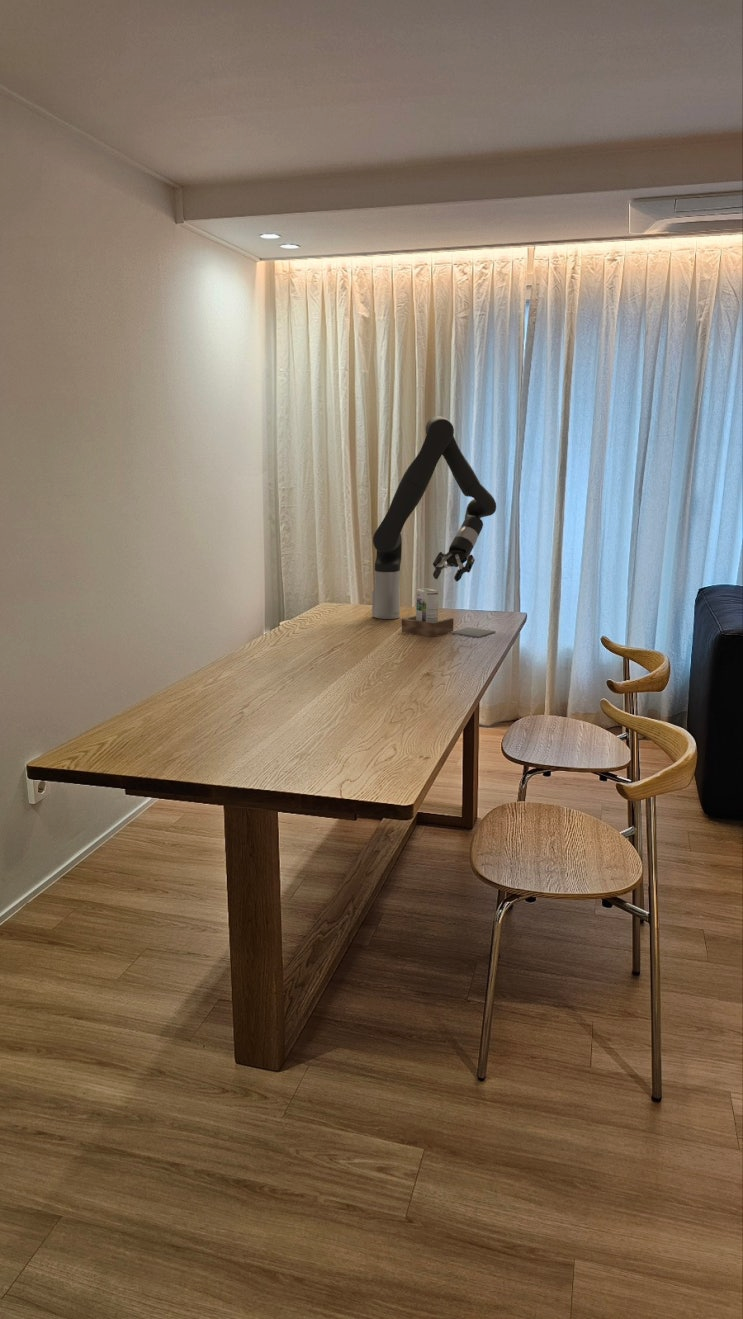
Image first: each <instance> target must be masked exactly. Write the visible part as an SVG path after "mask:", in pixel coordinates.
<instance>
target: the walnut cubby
mask: <svg viewBox="0 0 743 1319" xmlns="http://www.w3.org/2000/svg"><path fill="white" fill-rule="evenodd" d="M451 631H454V618H453V617H450V618H446V619H442V620H439V621H438V622H435V623H430V622H423V621H416V615H413V616H408V617H405V618H402V619H401V633H404V632H405V633H404V634H410V633H411V635H417V636H423V635H424V636H425V637H429V636H431V638H435V636H436V637H438V635H439V636H442V635H446V634H448V632H449V633H451ZM445 633H446V634H445ZM424 636H423V637H424Z"/></svg>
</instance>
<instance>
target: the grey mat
mask: <svg viewBox="0 0 743 1319" xmlns="http://www.w3.org/2000/svg"><path fill="white" fill-rule="evenodd" d="M496 632H497V631H496V630H490V629H485V628H484V629H482V628H477V627H476V628H475V627H469V626H468V627H464V628H461V629H457V630H453V632H450V634H451V633H452V634H451V635H455V634H459V635H458V636H462V635H465V636H464V637H469V636H471V637H470V638H475V637H477V639H480V638H483V637H486V635H487V636H489V634H490V635H492V634H495V633H496ZM479 637H480V638H479Z"/></svg>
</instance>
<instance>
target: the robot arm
mask: <svg viewBox="0 0 743 1319" xmlns="http://www.w3.org/2000/svg"><path fill="white" fill-rule="evenodd" d="M454 433H455V428H454V425H453V423H452V422H451V421H450V420H449V419H448V418H446V417H444V416H442V415H441V416H440V415H436V416H433V417H431V418H430V419H429V420H428V421H427V423H426V425H425V434H426V436H425V438H424V441H423V443H422V446H421V449H420V450H419V452H418V454H417V455H416V457H415V458H414V460H413V461H412V462H411V463H410V465H409V466H408V467H407V469H406V470H405V472H404V474H403V475H402V478H401V479H400V481H399V484H398V486H397V488H396V490H395V493H394V496H393V497H392V500H391V503H390V505H389V509H388V510H387V511H386V514H385V516H384V517H383V520H381V523H380V525H379V526H378V527H377V529H376V530H375V532H374V533H373V538H372V544H373V546H374V548H375V550H376V558H375V562H374V590H372V595H371V596H372V597H371V601H372V602H371V606H372V607H371V611H372V612H371V613H372V614H371V616H372V617H374V618H376V619H380V620H395V619H399V618H400V617H401V616H400V606H401V604H400V603H401V602H400V601H401V599H400V598H401V596H400V595H401V592H400V591H401V590H400V588H401V580H400V579H401V564H402V546H403V543H402V542H403V541H402V540H403V538H402V534H401V532H402V531H403V528H404V526H405V524H406V521H407V520H408V519H409V517H410V516H411V514H412V513H413V512H414V510H415V509H416V507H417V506H418V505H419V503H420V501H421V499H422V498H423V496H424V494H425V492H426V490H427V488H428V486H429V483H430V481H431V479H432V477H433V474H434V472H435V469H436V468H437V465H438V462H439V461H440V460H441V459H440V458H442V456H443V459H444V460H445V462H446V464H447V466H448V468H449V470H450V473H452V475H453V478H454V480H455V482H456V483H457V486H458V487H459V489H460V491H461V492H462V494H463V495H464V496H465V497H469V498H473V499H472V500H470V501H469V503H468V504H467V506H466V510H465V515H464V520H463V523H462V524H461V526H460V527H459V529H458V531H457V532H456V534H455V536H454V538H453V540H452V541H451V544H450V546H449V548H448V552H447V553H443V552H442V551H439V553H438V554H437V555H436V558H435V559H434V561H433V563H432V566H433V567H434V571H433V573H432V577H433V578H434V580H438V579H439V577H440V574H441V573H442V571H443V570H445V569H448V568H449V567H451V568H452V567H455V568H458V569H457V571H456V573H455V575H454V577H453V579H454V581H455V582H459V581H460V580H461V579H462V577H463V575H464V574H465V573H470V572H471V571H472V568H473V566H474V563H475V560H476V559H475V557H474V555H473V554H471V553H472V552H473V549H474V547H475V545H476V543H477V540H478V538H479V535H480V533H481V532H482V529H483V526H484V522H483V520H482V518H485V517H489V516H492V515H493V514H495V513H496V510H497V502H496V500H495V497H494V496H493V495H492V494H491V492H489V491H488V489H486V488H485V487H484V486H483V485H482V484H481V482H480V480H479V478H478V477H477V474H476V473H475V471H474V469H473V467H472V466H471V465H470V463H469V462H468V460H467V459H466V457H465V455H464V454H463V452H462V451H461V449H460V447H459V445H458V443H457V441H456V438H455V436H454V435H455V434H454ZM465 562H466V563H465ZM464 563H465V565H464Z"/></svg>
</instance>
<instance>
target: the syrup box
mask: <svg viewBox="0 0 743 1319" xmlns="http://www.w3.org/2000/svg"><path fill="white" fill-rule="evenodd" d="M415 610H416V611H415V613H416V614H415V616H416V621H423V622H430V623H435V622H438V620H439V618H438V617H439V590H435V589H432V588H418V589H416V603H415Z"/></svg>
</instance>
